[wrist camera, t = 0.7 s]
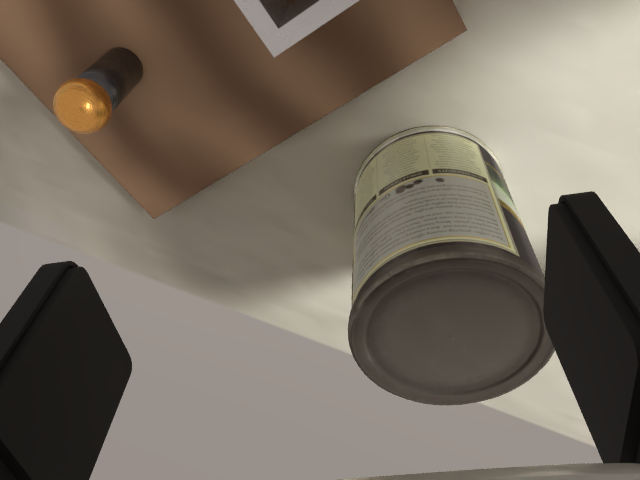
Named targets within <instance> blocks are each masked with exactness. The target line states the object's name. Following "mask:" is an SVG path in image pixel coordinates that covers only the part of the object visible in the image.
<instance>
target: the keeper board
mask: <svg viewBox="0 0 640 480" xmlns="http://www.w3.org/2000/svg"><path fill="white" fill-rule="evenodd" d="M287 1H288V2H289V4H290V3H292V2H293V1H294V0H287ZM466 30H467V29H466V27H465V25H464V23H463V21H462V19H461V17H460V15H459V13H458V11H457V10H456V8H455V6H454V4H453V2H452V0H359V1H358V2H356V3H355V4H353V5H352V6H350V7H349V8H347V9H346V10H344V11H343V12H341V13H340V14H338V15H337V16H335V17H334V18H332V19H331V20H329V21H328V22H326V23H325V24H323V25H322V26H320V27H319V28H317V29H316V30H315V31H313V32H312V33H310V34H309V35H307V36H306V37H304V38H303V39H301V40H300V41H298V42H297V43H295V44H294V45H292V46H291V47H289V48H288V49H286V50H285V51H283V52H282V53H280V54H279V55H277V56H276V57H273V55H272V54H271V53H270V51H269V50H268V48H267V47H266V45H265V44H264V43H263V41H262V40H261V38H260V37H259V35H258V34H257V33H256V31H255V30H254V28H253V27H252V25H251V24H250V23H249V21H248V20H247V18H246V17H245V16H244V14H243V13H242V11H241V10H240V8H239V7H238V6H237V4H236V3H235V1H234V0H0V59H1V60H2V61H3V62H4V63H5V64H6V65H7V66H8V67H9V68H10V69H11V70H12V71H13V72H14V73H15V74H16V76H17V77H18V78H19V79H20V80H21V81H22V82H23V83H24V84H25V85H26V86H27V87H28V88H29V89H30V90H31V91H32V92H33V93H34V94H35V95H36V96H37V97H38V99H39V100H40V101H41V102H42V103H43V104H44V105H45V106H46V107H47V108H48V109H49V110H50V111H51V112H52V113H53V114H54V115H55V112H54V108H53V99H54V95H55V93H56V91H57V89H58V88H59V87H60V86H61V85H62V84H63V83H64V82H66V81H68V80H70V79H74V78H77V77H78V76H79V75H80V74H81V73H83V72H84V71H85V70H86V69H87V68H89V67H90V66H91V65H92V64H93V63H94V62H96V61H97V60H98V59H99V58H100V57H102V56H103V55H104V54H105V53H106V52H108V51H109V50H110V49H112V48H115V47H122V48H126V49H129V50H130V51H132V52H133V53H134V54H136V55H137V57H138V58H139V59H140V61H141V63H142V66H143V77H142V79H141V81H140V82H139V83H138V84H137V85H136V86H135V87H134V88H133V90H132V91H131V92H130V93H129V94H128V95H127V96H126V97H125V98H124V99H123V101H122V102H121V103H120V104H119V105H118V106H117V107H116V108H115V109H114V110H113V111H112V113H111V117H110V119H109V121H108V123H107V124H106V125H105V126H104V127H103V128H102V129H100V130H99V131H97V132H94V133H90V134H81V133H76V132H73V131H71V130H69V129H68V130H69V131H70V132H71V133H72V134H73V135H74V136H75V137H76V138H77V139H78V140H79V141H80V142H81V143H82V145H83V146H84V147H85V148H86V149H87V150H88V151H89V152H90V153H91V154H92V155H93V156H94V157H95V158H96V159H97V160H98V161H99V162H100V163H101V164H102V165H103V166H104V168H105V169H106V170H107V171H108V172H109V173H110V174H111V175H112V176H113V177H114V178H115V179H116V180H117V181H118V182H119V183H120V184H121V185H122V186H123V187H124V188H125V189H126V191H127V192H128V193H129V194H130V195H131V196H132V197H133V198H134V199H135V200H136V201H137V202H138V203H139V204H140V205H141V206H142V207H143V208H144V209H145V210H146V211H147V212H148V214H149V215H150V216H151V217H152V218H153V219H154V218H156V217H158V216H159V215H161V214H163V213H164V212H166V211H168V210H169V209H171V208H173V207H174V206H176V205H178V204H179V203H181V202H183V201H184V200H186V199H188V198H189V197H191V196H193V195H194V194H196V193H198V192H199V191H201V190H203V189H204V188H206V187H208V186H209V185H211V184H213V183H214V182H216V181H217V180H219V179H221V178H222V177H224V176H226V175H227V174H229V173H231V172H232V171H234V170H236V169H237V168H239V167H241V166H242V165H244V164H246V163H247V162H249V161H251V160H252V159H254V158H256V157H257V156H259V155H261V154H262V153H264V152H266V151H267V150H269V149H271V148H272V147H274V146H276V145H277V144H279V143H281V142H282V141H284V140H286V139H287V138H289V137H291V136H292V135H294V134H295V133H297V132H299V131H300V130H302V129H304V128H305V127H307V126H309V125H310V124H312V123H314V122H315V121H317V120H319V119H320V118H322V117H324V116H325V115H327V114H329V113H330V112H332V111H334V110H335V109H337V108H339V107H340V106H342V105H344V104H345V103H347V102H349V101H350V100H352V99H354V98H355V97H357V96H359V95H360V94H362V93H364V92H365V91H367V90H369V89H370V88H372V87H373V86H375V85H377V84H378V83H380V82H382V81H383V80H385V79H387V78H388V77H390V76H392V75H393V74H395V73H397V72H398V71H400V70H402V69H403V68H405V67H407V66H408V65H410V64H412V63H413V62H415V61H417V60H418V59H420V58H422V57H423V56H425V55H427V54H428V53H430V52H432V51H433V50H435V49H437V48H438V47H440V46H442V45H443V44H445V43H446V42H448V41H450V40H451V39H453V38H455V37H456V36H458V35H460V34H461V33H463V32H465V31H466ZM55 116H56V115H55Z"/></svg>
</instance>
